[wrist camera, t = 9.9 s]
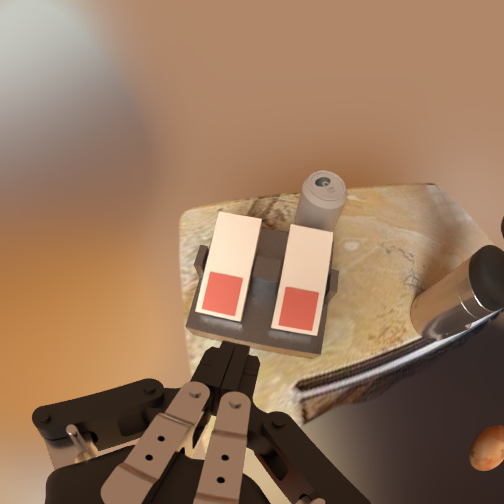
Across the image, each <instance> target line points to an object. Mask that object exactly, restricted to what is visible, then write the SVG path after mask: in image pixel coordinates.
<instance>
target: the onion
mask: <svg viewBox="0 0 504 504" xmlns="http://www.w3.org/2000/svg"><path fill="white" fill-rule="evenodd" d="M469 458H470V462H471V464H472V466H473V467H474V468H475V469H477V470H483V471H484V470H485V471H486V470H490V469H493V468H495V467H496V466H497V465H499V464H500V463H501V462H502V461H503V460H504V427H503V426H500V425H496V426H492V427H489V428H487V429H485V430H484V431H483V432H481V433H480V434H479V435H478V436H477V438H476V439H475V441H474V442H473V444H472V446H471V448H470V453H469Z"/></svg>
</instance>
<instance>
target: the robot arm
mask: <svg viewBox="0 0 504 504" xmlns="http://www.w3.org/2000/svg"><path fill="white" fill-rule="evenodd" d="M501 231H502V235H503V238H504V217H503V220H502V224H501ZM503 307H504V251H502V250H501V249H500V248H498V247H496V246H493V245H486V246H484V247H482V248H481V249H479V250H478V251H477V252H476V253H474V254H473V255H472V256H471V257H470V258H468V259H467V260H466V261H465V262H463V263H462V264H461V265H460V266H458V267H457V268H456V269H454V270H453V271H452V272H450V273H449V274H448V275H446V276H445V277H444V278H442V279H441V280H440V281H438V282H437V283H435V284H434V285H433V286H431V287H430V288H428V289H427V290H425V291H423V292H422V293H421V294H420V295H418V296H417V297H416V298H415V300H414V301H413V304H412V307H411V320H412V323H413V326H414V328H415V330H416V331H417V332H418V333H419V334H420V335H421V336H422V337H424V338H427V339H436V340H437V341H440V340H442V339H445V338H448V337H450V336H453V335H456V334H458V333H461V332H463V331H465V330H468V329H469V328H470V327H471V324H472V323H473V322H475V321H477V320H479V319H481V318H483V317H485V316H487V315H489V314H491V313H493V312H495V311H497V310H499V309H501V308H503ZM249 351H250V346H248V345H244V344H239V343H237V345H236V343H234V342H230V341H225V340H223V341H222V344H221V346H220V348H216V347H211V348H209V349H208V350H206V351H205V353H204V355H203V357H202V359H201V361H200V364H199V365H198V367H197V369H196V371H195V373H194V375H193V377H192V379H191V381H190V382H188V383H186V384H184V385H183V386H182V387H181V388H176V389H174V388H164V387H163V385H162V384H161V383H160V382H159V381H157V380H155V379H143V380H140V381H136V382H133V383H130V384H127V385H123V386H120V387H117V388H114V389H110V390H107V391H103V392H99V393H95V394H92V395H88V396H84V397H80V398H76V399H72V400H68V401H64V402H59V403H55V404H50V405H45V406H41V407H39V408H37V409H36V410H35V411H34V412H33V415H32V420H33V423H34V425H35V426H36V428H37V429H38V430H39V432H40V434H41V436H42V437H43V438H44V440H45V443H46V446H47V449H48V452H49V455H50V458H51V461H52V464H53V466H54V469H55V471H53V472H52V473H51V474H50V475H49V477H48V479H47V482H46V499H45V504H271V503H270V502H269V501H268V499H267V498H266V496H265V495H264V493H263V492H262V490H261V489H260V487H259V486H258V485H257V484H256V483H255V482H254V480H252V479H251V478H250V477H248V476H247V475H245V474H243V466H244V458H245V451H246V447H247V448H249V449H251V450H253V451H254V453H255V456H256V457H257V458H258V460H259V461H260V462H261V464H262V465H263V467H264V468H265V470H266V471H267V472H268V474H269V475H270V476H271V478H272V479H273V480H274V482H275V483H276V484H277V486H278V487H279V488H280V490H281V491H282V492H283V493H284V495H285V496H286V497H287V498H288V500H289V501H290V502H291V503H292V504H371V503H370V501H369V500H368V499H367V498H366V497H365V496H364V495H363V494H362V493H360V492H359V490H358V489H356V487H355V486H353V484H351V482H350V481H348V480H347V478H345V476H343V474H342V473H341V472H340V471H339V470H338V469H337V468H336V467H335V466H334V465H333V464H332V463H331V462H330V461H329V460H328V459H327V457H325V455H324V454H323V453H322V452H321V451H320V450H319V449H318V448H317V447H316V445H315V444H314V443H313V442H312V441H311V440H310V439H309V438H308V436H307V435H306V434H305V433H304V432H303V431H302V430H301V429H300V427H299V426H298V425H297V424H296V423H295V421H294V420H293V419H292V418H291V417H290V416H289V415H288V414H286V413H283V412H278V411H275V412H270V413H266V412H263V411H261V410H260V409H258V408H257V407H256V406H255V405H254V403H253V393H254V389H255V384H256V380H257V375H258V371H259V367H260V362H259V359H258V357H256V356H251V355H249ZM211 415H213V416H217V417H216V421H215V425H214V429H213V431H212V433H211V437H210V441H209V445H208V449H207V453H206V457H205V460H198V459H193V456H194V453H195V451H196V449H197V447H198V445H199V443H200V441H201V439H202V437H203V435H204V433H205V431H206V429H207V426H208V422H209V420H210V417H211ZM140 437H141V438H140ZM138 438H140V440H139V441H138V443H137V444H136V445H131V446H127V447H124V448H121V449H119V450H116V451H113V452H110V453H107V454H104V455H102V456H98V457H96V456H97V453H98V451H101V450H104V449H107V448H111V447H114V446H117V445H120V444H123V443H126V442H129V441H132V440H135V439H138Z"/></svg>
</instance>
